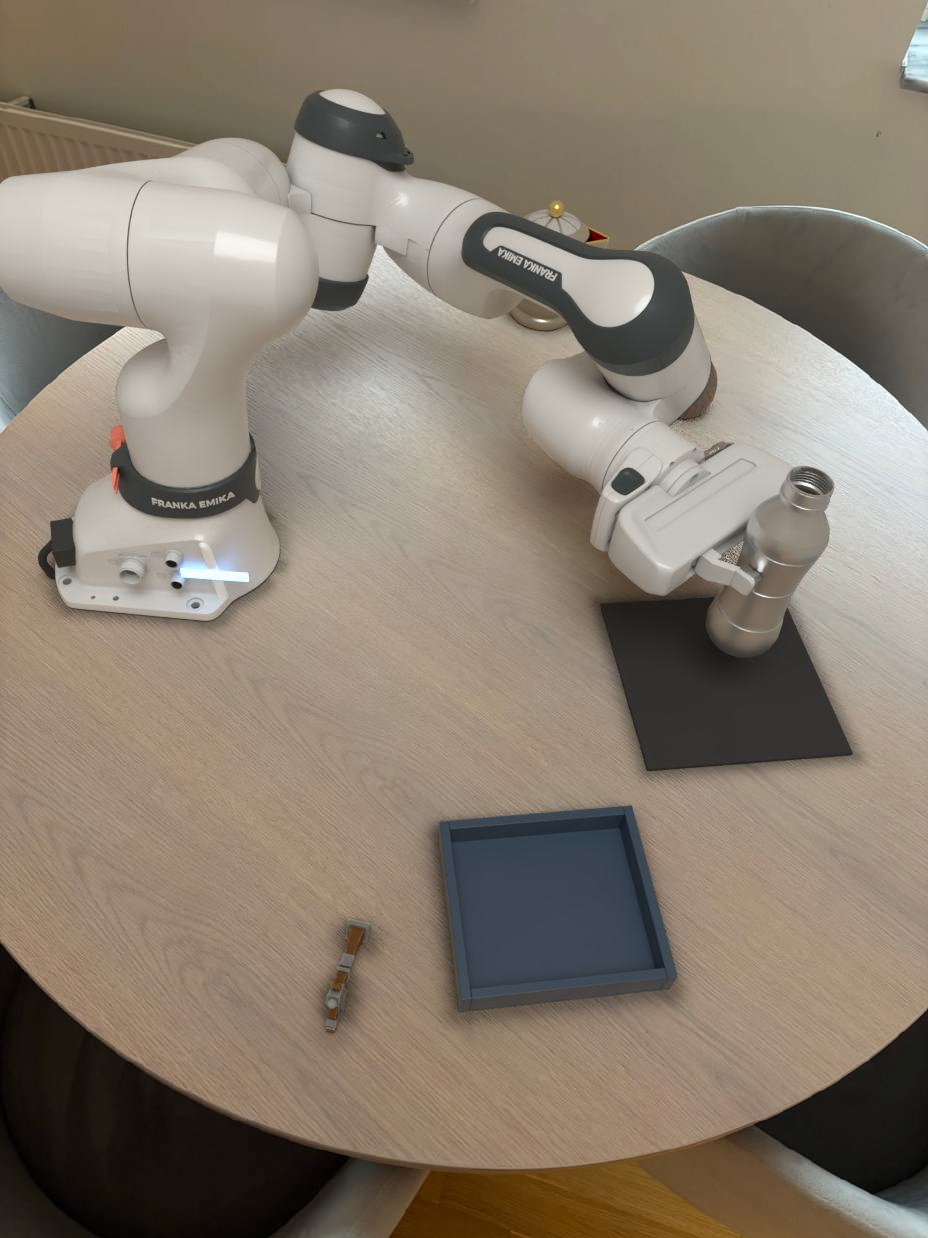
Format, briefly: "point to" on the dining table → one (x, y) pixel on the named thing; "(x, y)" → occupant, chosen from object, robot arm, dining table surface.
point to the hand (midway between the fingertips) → (780, 567)
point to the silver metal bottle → (773, 563)
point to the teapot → (568, 226)
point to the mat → (717, 691)
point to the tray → (551, 908)
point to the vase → (703, 397)
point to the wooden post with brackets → (345, 971)
